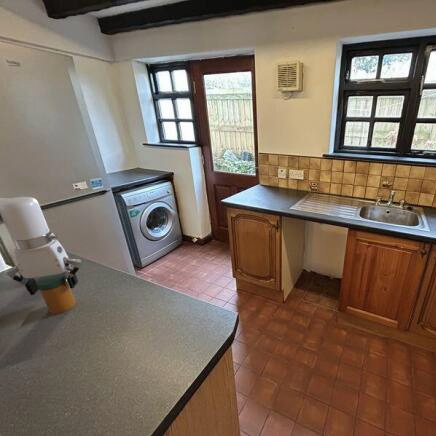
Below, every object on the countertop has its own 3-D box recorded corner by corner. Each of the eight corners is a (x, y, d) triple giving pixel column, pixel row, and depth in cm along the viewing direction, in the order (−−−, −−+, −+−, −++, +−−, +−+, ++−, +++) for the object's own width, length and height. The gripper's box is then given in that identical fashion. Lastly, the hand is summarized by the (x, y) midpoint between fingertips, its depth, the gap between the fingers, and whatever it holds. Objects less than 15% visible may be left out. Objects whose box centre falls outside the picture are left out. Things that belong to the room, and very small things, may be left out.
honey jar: (46, 316, 74) (32, 288, 70) (54, 303, 80) (41, 276, 76) (72, 310, 77) (61, 282, 73) (78, 297, 82) (68, 271, 78)
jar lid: (64, 285, 74) (62, 280, 73) (34, 292, 70) (32, 287, 70) (69, 274, 79) (67, 269, 78) (41, 280, 76) (38, 275, 75)
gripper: (76, 231, 75) (92, 276, 82) (2, 238, 69) (26, 287, 76) (65, 242, 69) (84, 290, 75) (-17, 251, 63) (10, 303, 69)
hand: (55, 288), depth 76 cm, fingers open, 9 cm apart
